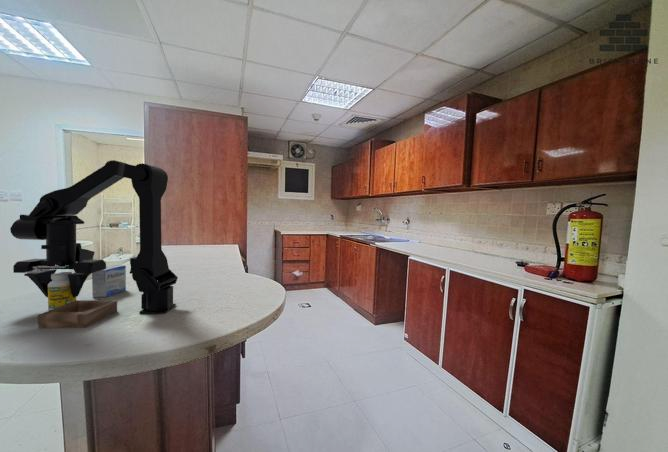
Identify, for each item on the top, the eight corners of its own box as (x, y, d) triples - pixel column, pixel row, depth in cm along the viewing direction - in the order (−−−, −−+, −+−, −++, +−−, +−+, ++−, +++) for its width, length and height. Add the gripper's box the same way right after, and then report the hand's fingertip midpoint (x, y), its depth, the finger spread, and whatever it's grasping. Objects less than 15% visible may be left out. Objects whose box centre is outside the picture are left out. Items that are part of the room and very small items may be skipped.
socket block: (117, 311, 70) (117, 300, 70) (85, 327, 60) (85, 314, 60) (76, 311, 69) (76, 300, 69) (38, 327, 59) (37, 314, 59)
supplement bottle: (78, 303, 75) (78, 270, 75) (73, 309, 71) (72, 274, 70) (51, 306, 72) (51, 272, 72) (44, 312, 68) (44, 276, 68)
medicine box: (105, 297, 81) (105, 270, 81) (91, 297, 81) (91, 269, 81) (126, 290, 89) (126, 265, 88) (113, 289, 89) (113, 264, 88)
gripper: (119, 238, 80) (119, 288, 80) (52, 237, 78) (53, 288, 79) (89, 242, 69) (90, 300, 69) (10, 240, 67) (11, 300, 67)
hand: (62, 296), depth 72 cm, fingers open, 6 cm apart
